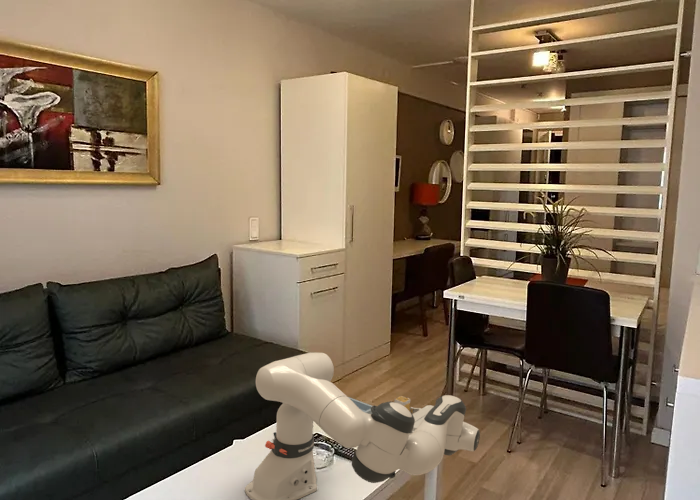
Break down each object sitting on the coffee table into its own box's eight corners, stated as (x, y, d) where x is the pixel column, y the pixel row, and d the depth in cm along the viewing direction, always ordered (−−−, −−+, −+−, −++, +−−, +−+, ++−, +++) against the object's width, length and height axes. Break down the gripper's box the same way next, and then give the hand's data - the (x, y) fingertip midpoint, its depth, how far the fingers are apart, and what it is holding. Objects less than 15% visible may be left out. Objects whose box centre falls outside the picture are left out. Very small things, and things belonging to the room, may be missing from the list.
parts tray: (350, 429, 192) (351, 420, 192) (318, 416, 202) (319, 408, 202) (375, 415, 205) (376, 407, 204) (344, 403, 215) (344, 395, 214)
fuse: (402, 436, 189) (404, 402, 187) (392, 432, 191) (394, 399, 190) (408, 432, 192) (410, 399, 190) (399, 428, 195) (400, 395, 193)
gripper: (420, 445, 174) (386, 431, 183) (448, 424, 190) (416, 412, 199) (421, 427, 174) (387, 414, 182) (449, 407, 190) (417, 397, 198)
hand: (402, 413), depth 191 cm, fingers open, 8 cm apart
